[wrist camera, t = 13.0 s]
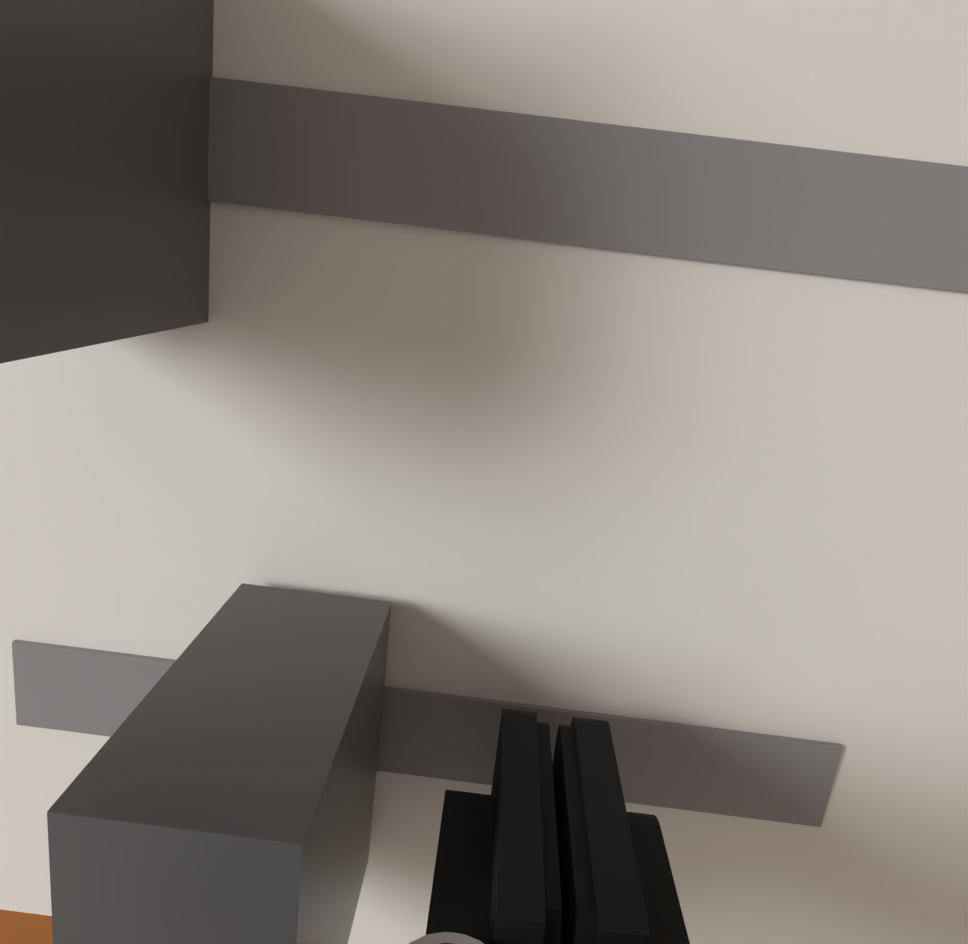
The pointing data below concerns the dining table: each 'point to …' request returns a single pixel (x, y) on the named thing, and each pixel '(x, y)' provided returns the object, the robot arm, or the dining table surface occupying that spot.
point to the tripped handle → (233, 785)
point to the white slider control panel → (511, 411)
